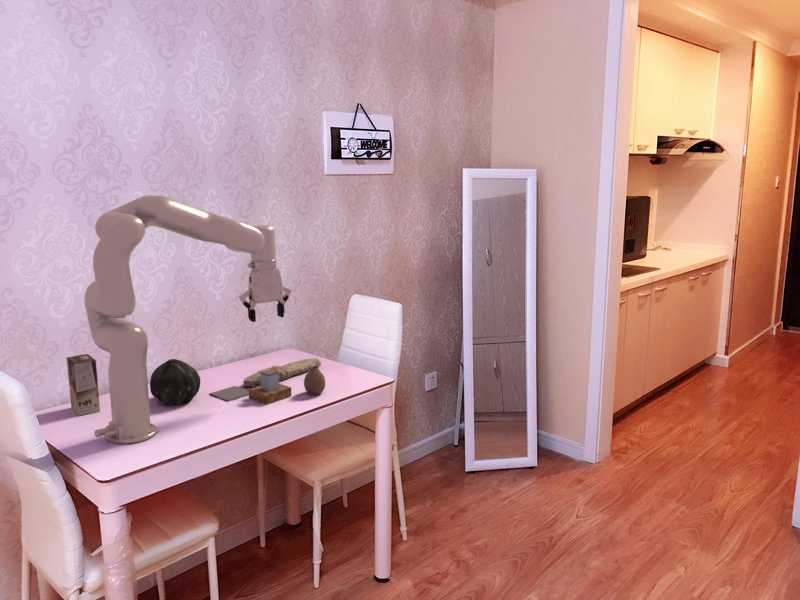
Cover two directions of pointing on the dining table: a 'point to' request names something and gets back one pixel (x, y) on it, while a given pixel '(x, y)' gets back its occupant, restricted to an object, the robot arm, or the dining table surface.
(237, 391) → the coaster
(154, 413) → the dining table surface
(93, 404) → the coffee box
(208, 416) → the dining table surface
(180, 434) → the dining table surface
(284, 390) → the socket block
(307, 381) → the vase
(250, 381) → the brown bread loaf
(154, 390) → the squash
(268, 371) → the plug
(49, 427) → the dining table surface
